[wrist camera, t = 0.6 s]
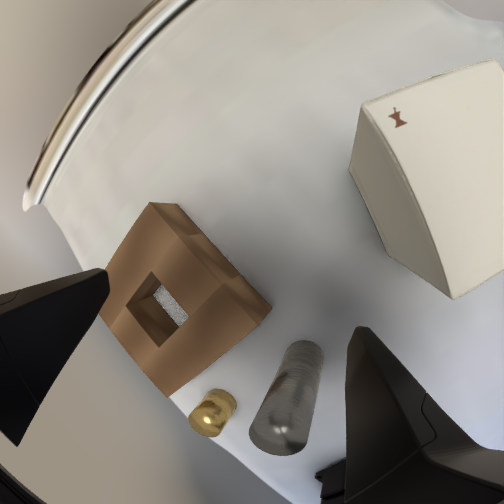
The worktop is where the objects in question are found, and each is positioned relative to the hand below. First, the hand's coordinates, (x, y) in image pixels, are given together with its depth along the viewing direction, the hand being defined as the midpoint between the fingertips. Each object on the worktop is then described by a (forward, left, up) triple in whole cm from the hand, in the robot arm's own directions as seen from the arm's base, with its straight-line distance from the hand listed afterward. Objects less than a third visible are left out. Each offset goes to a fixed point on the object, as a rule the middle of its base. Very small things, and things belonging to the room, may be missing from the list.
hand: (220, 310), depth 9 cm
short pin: (-6, +15, -13) cm, 21 cm away
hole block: (+4, +10, -13) cm, 17 cm away
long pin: (-7, +5, -13) cm, 16 cm away
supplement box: (-3, -10, -13) cm, 17 cm away
